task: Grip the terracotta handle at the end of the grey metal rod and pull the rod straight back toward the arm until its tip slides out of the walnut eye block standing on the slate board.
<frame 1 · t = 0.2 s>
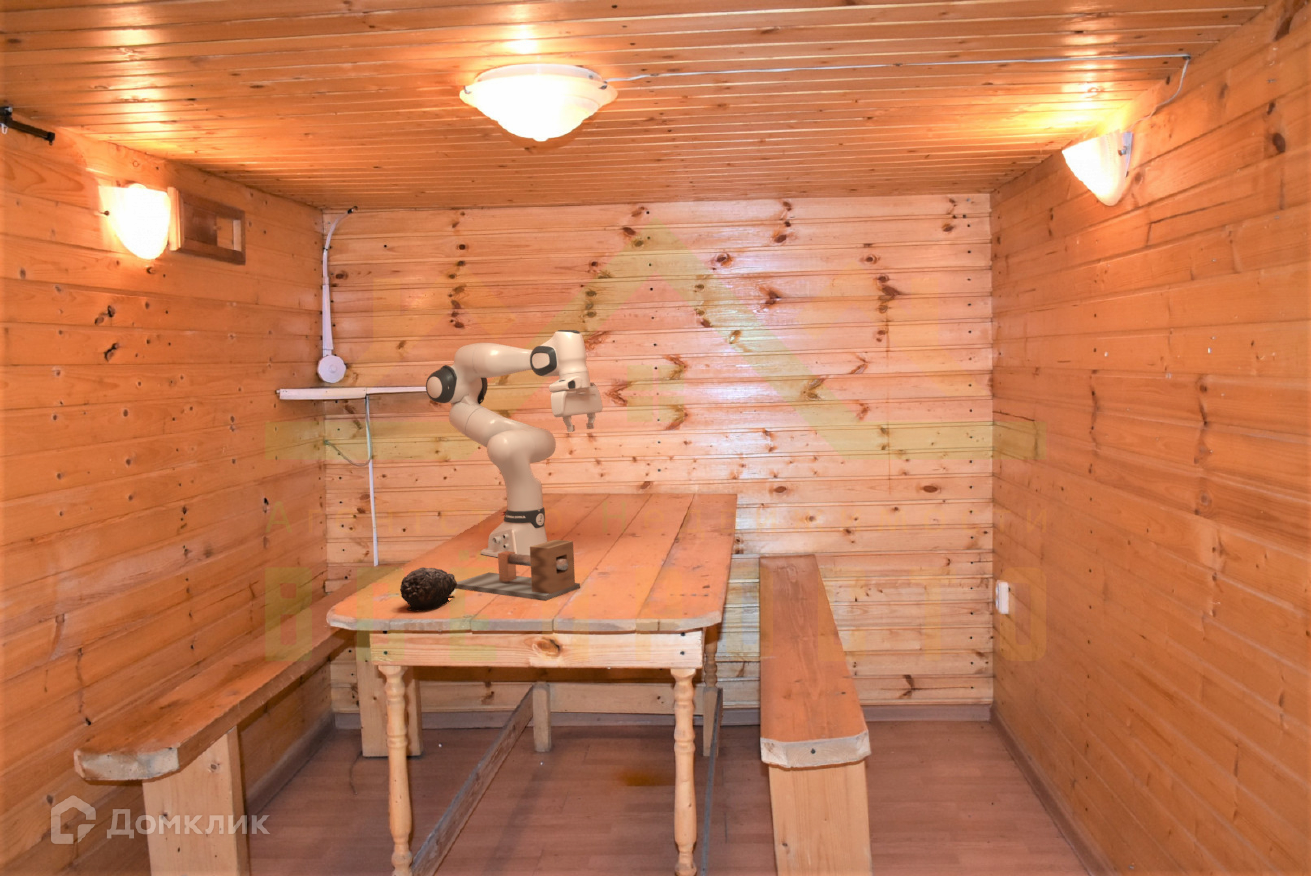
hand: (581, 430, 274), 39 cm above the table, tool pointing down, fingers open, 8 cm apart
pine cone: (429, 605, 232), on the table
eye post: (515, 587, 245), on the table
hook rod: (533, 569, 241), point 6 cm above the table, slide at 0.0 cm
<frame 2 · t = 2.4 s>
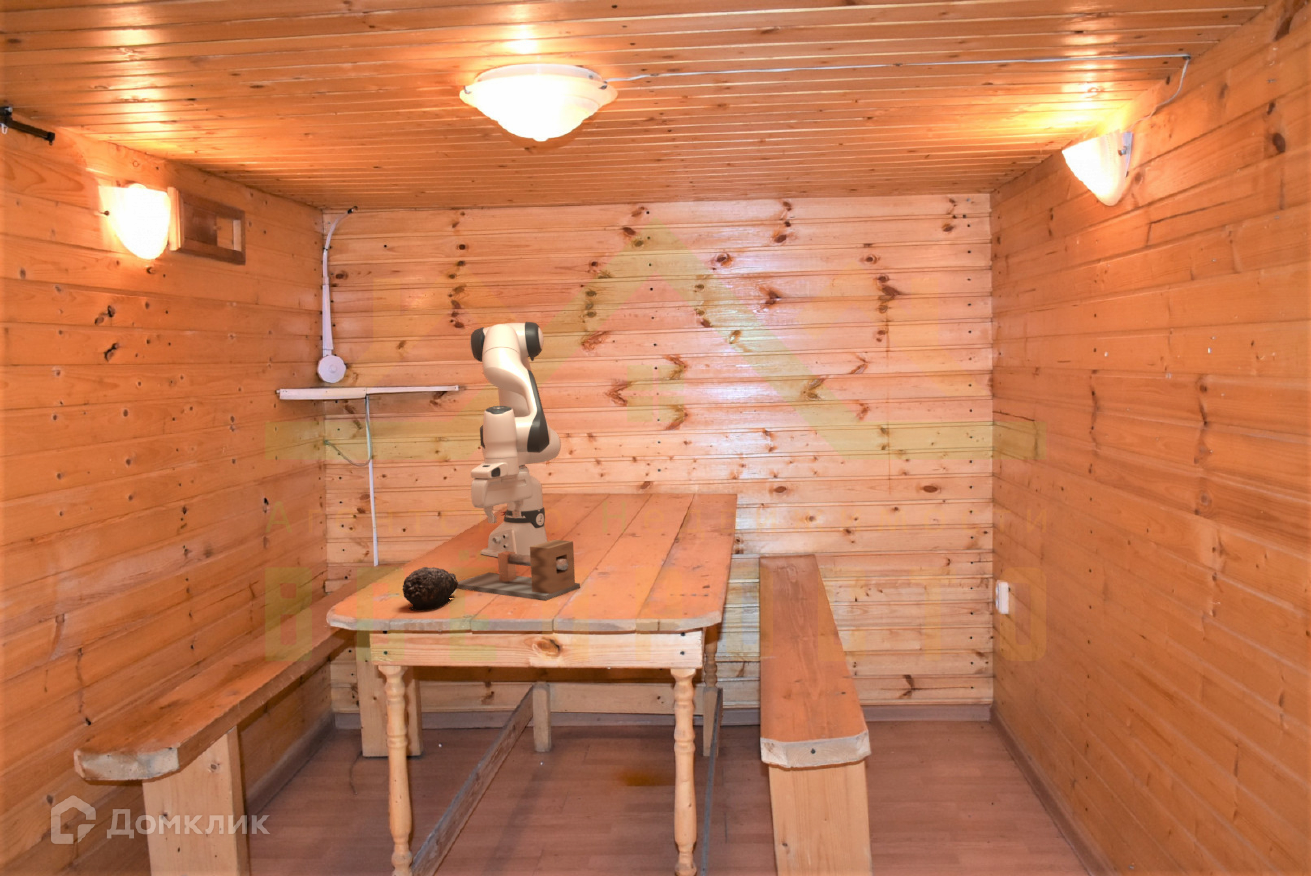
hand: (504, 520, 245), 18 cm above the table, tool pointing down, fingers open, 8 cm apart
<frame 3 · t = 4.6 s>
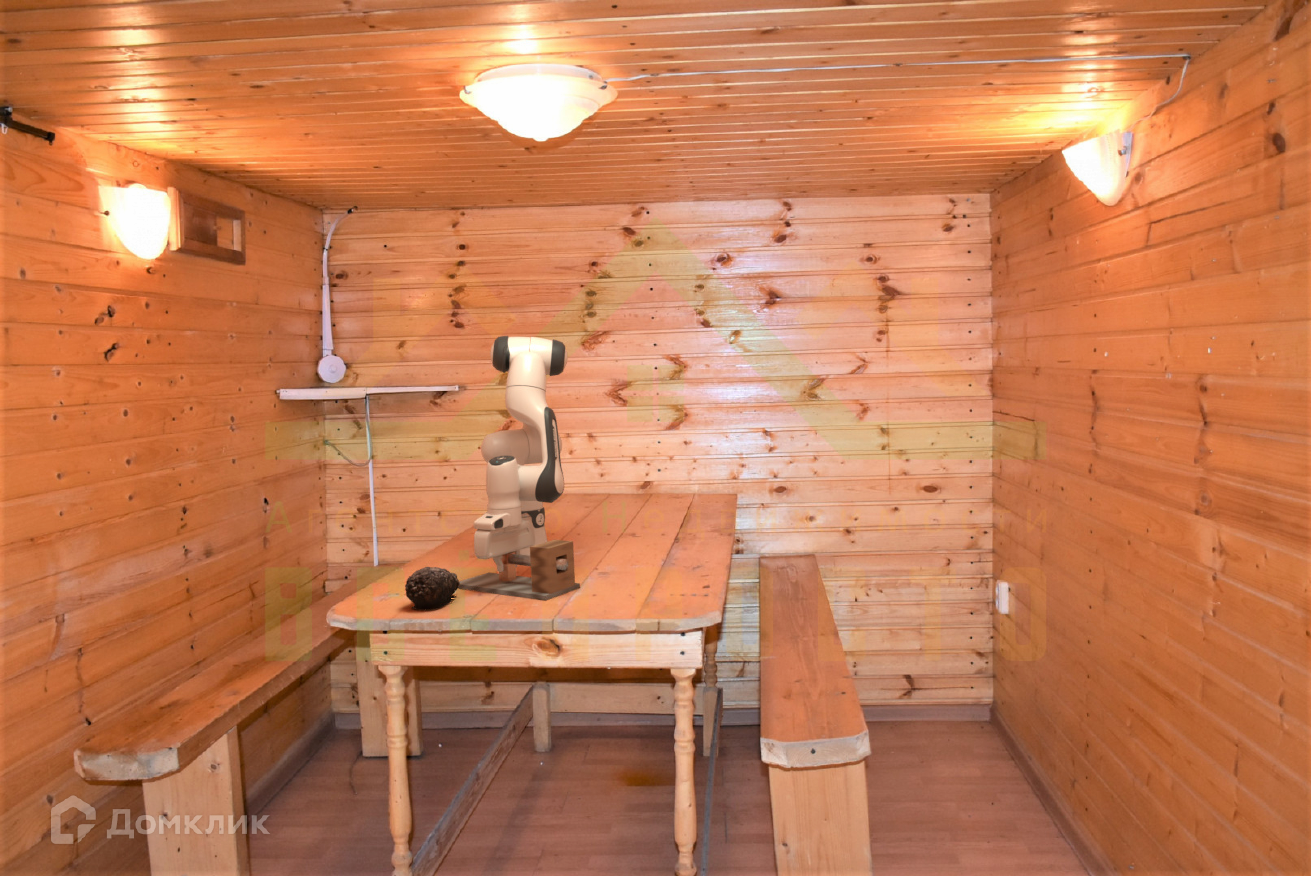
hand: (507, 569, 246), 5 cm above the table, tool pointing down, fingers closed on hook rod, 3 cm apart
hook rod: (533, 569, 241), point 6 cm above the table, slide at 0.0 cm, touching gripper
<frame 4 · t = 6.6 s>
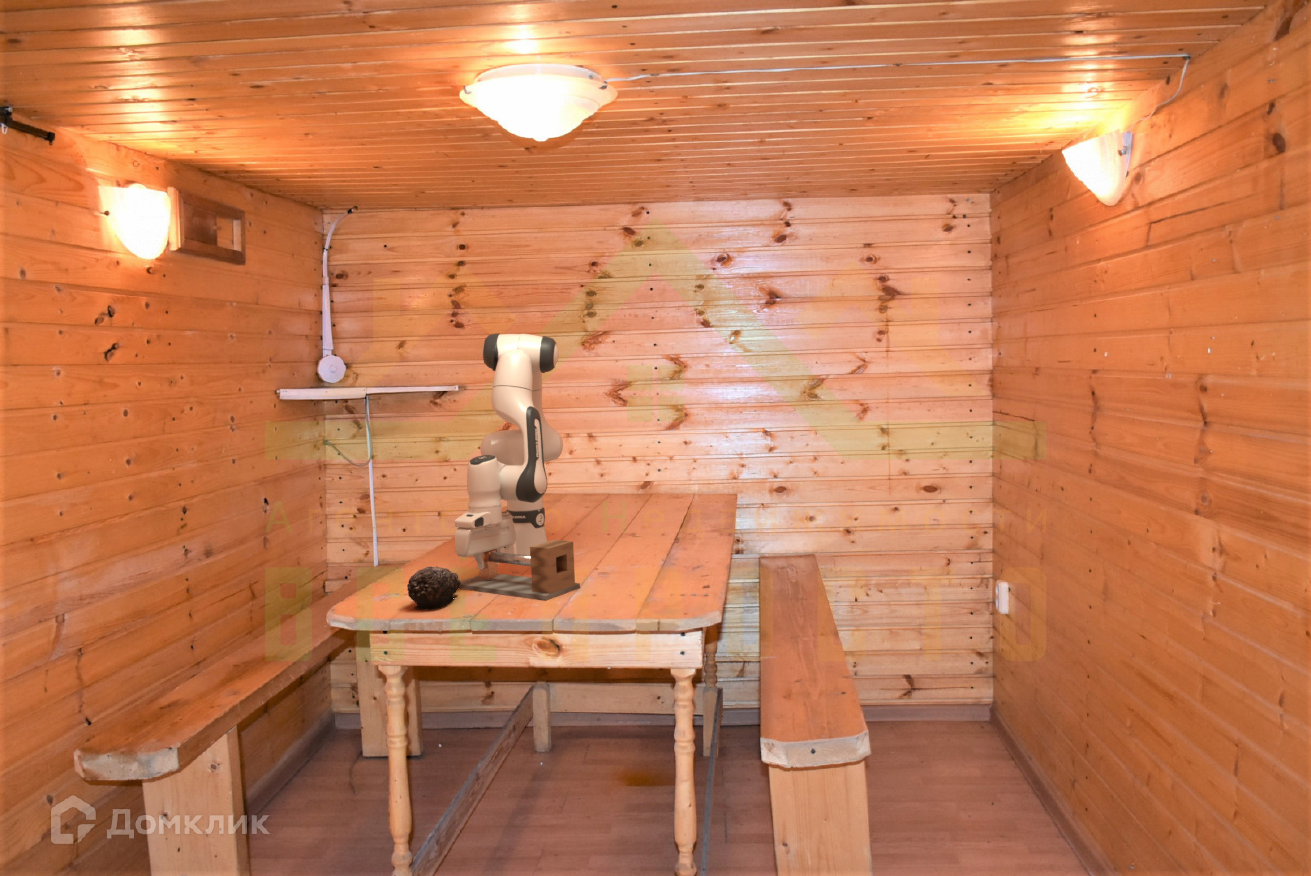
hand: (488, 567, 250), 5 cm above the table, tool pointing down, fingers closed on hook rod, 3 cm apart
hook rod: (513, 566, 245), point 6 cm above the table, slide at 6.9 cm, touching gripper
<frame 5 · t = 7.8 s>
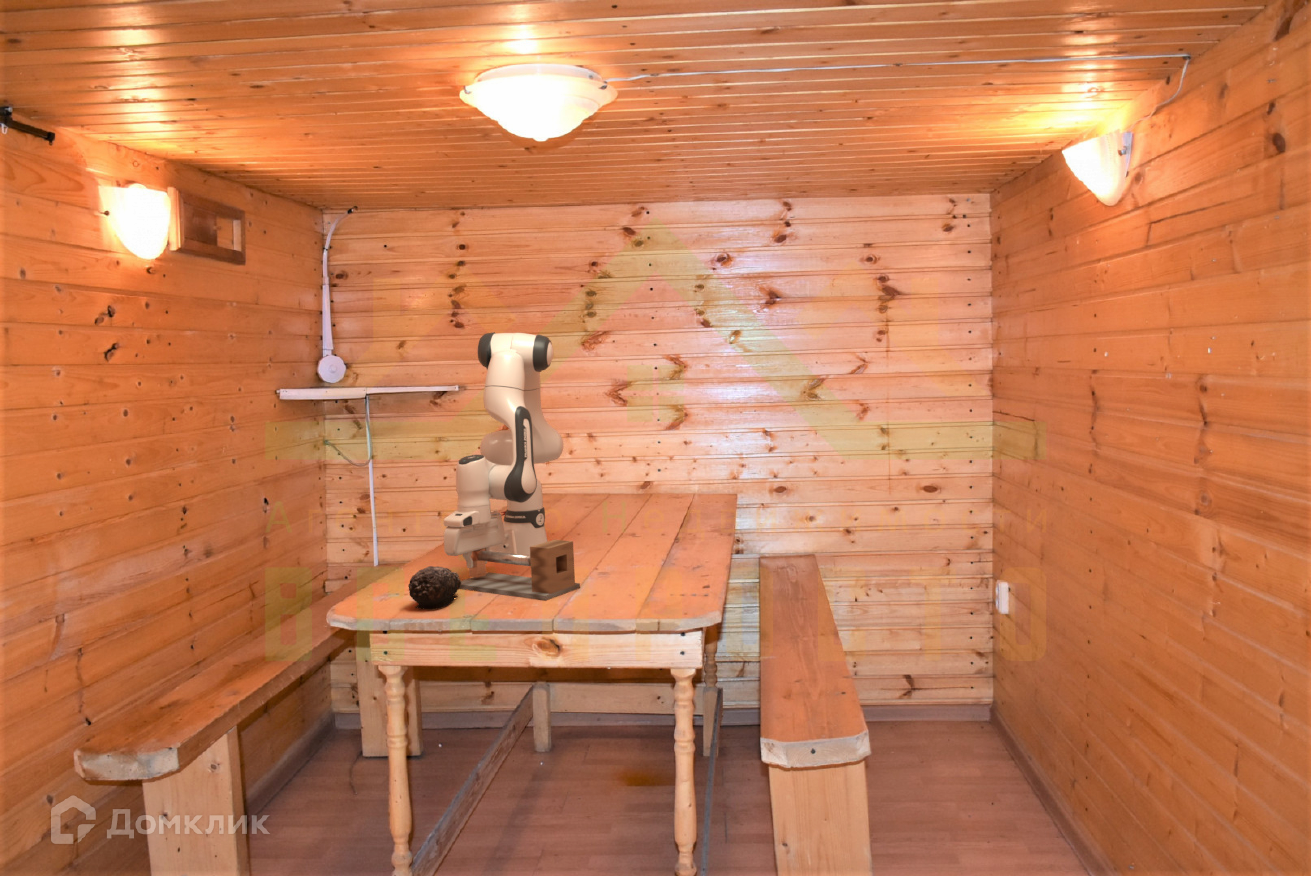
hand: (477, 565, 252), 5 cm above the table, tool pointing down, fingers closed on hook rod, 3 cm apart
hook rod: (501, 565, 247), point 6 cm above the table, slide at 10.9 cm, touching gripper
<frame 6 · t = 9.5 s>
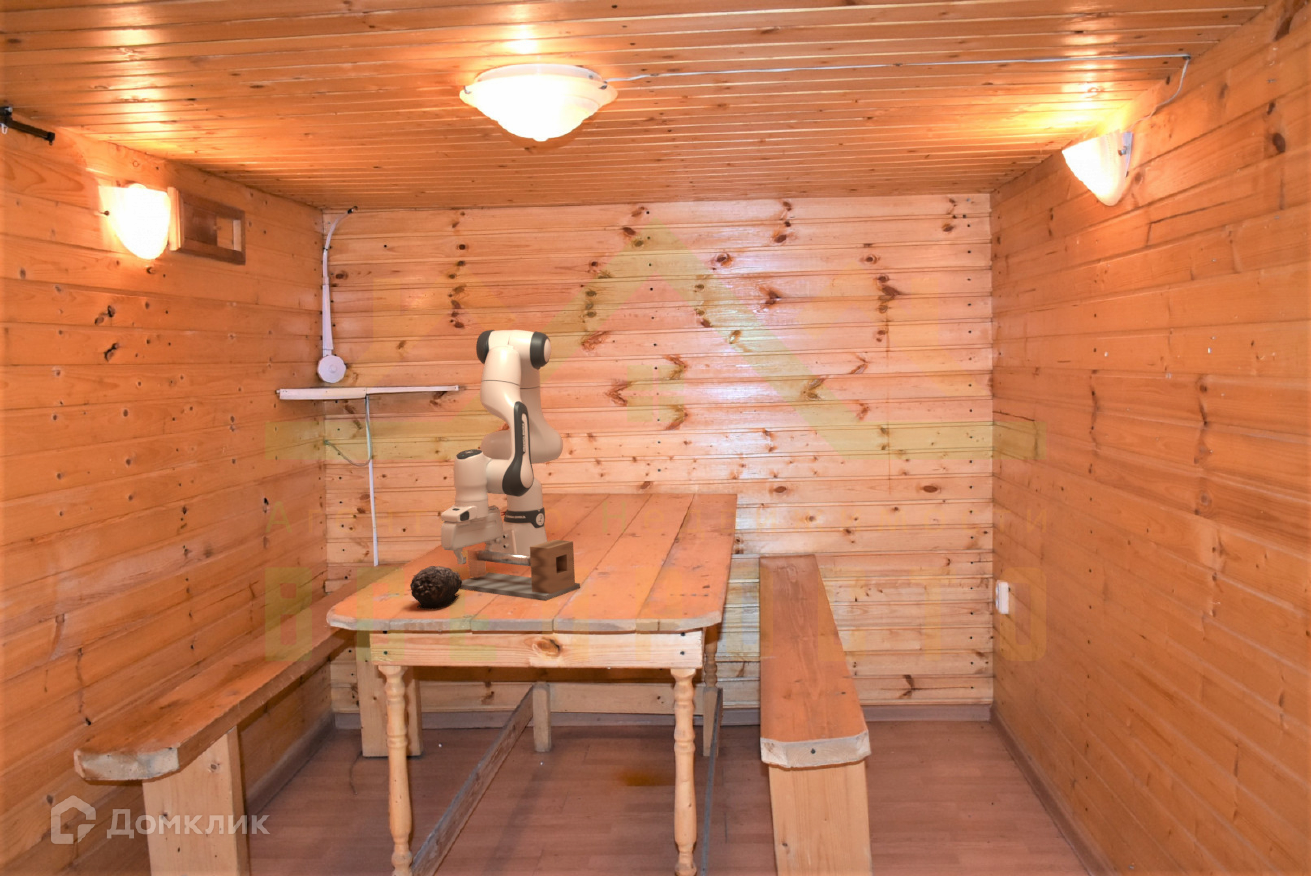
hand: (474, 560, 253), 6 cm above the table, tool pointing down, fingers open, 8 cm apart
hook rod: (501, 565, 247), point 6 cm above the table, slide at 11.0 cm
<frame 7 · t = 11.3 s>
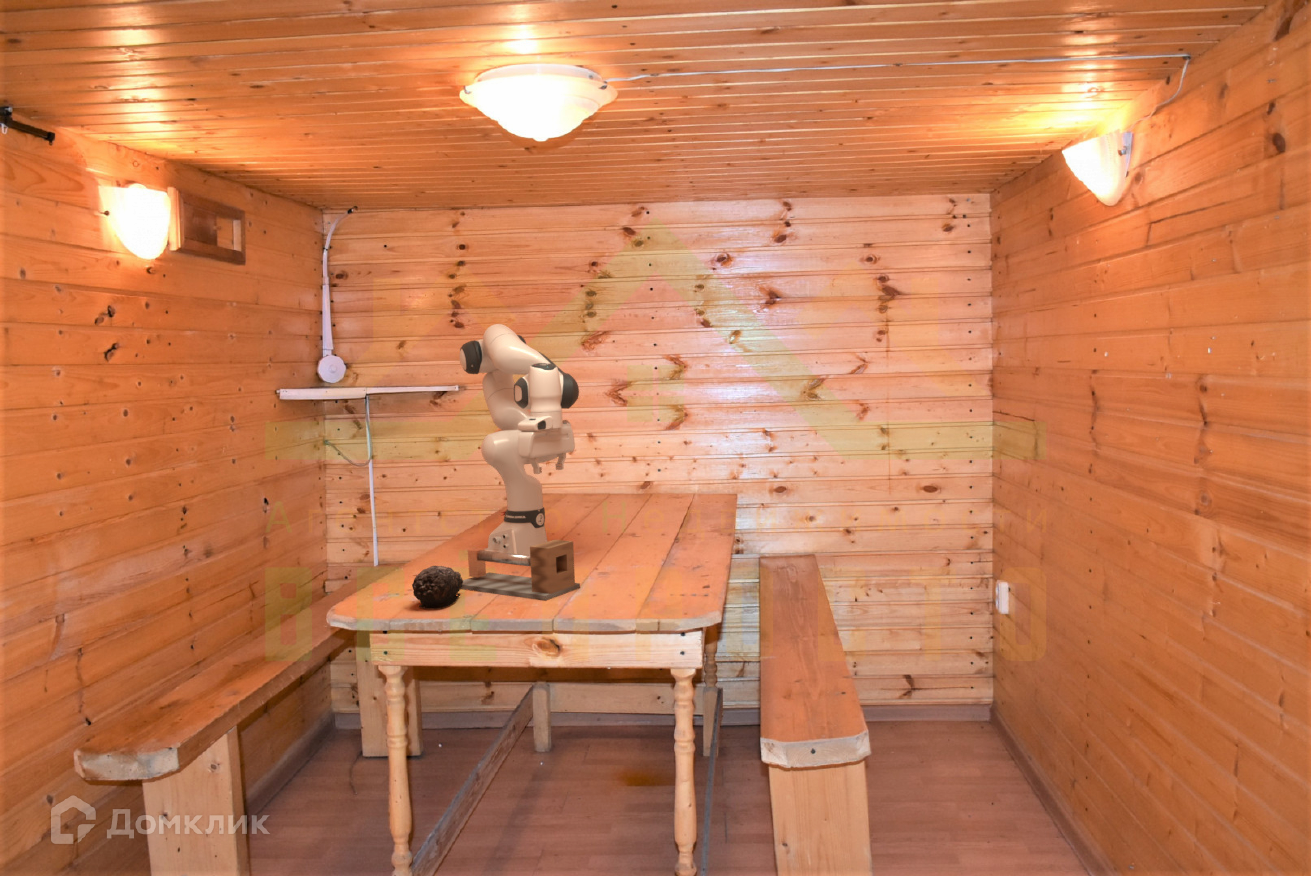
hand: (548, 471, 258), 29 cm above the table, tool pointing down, fingers open, 8 cm apart
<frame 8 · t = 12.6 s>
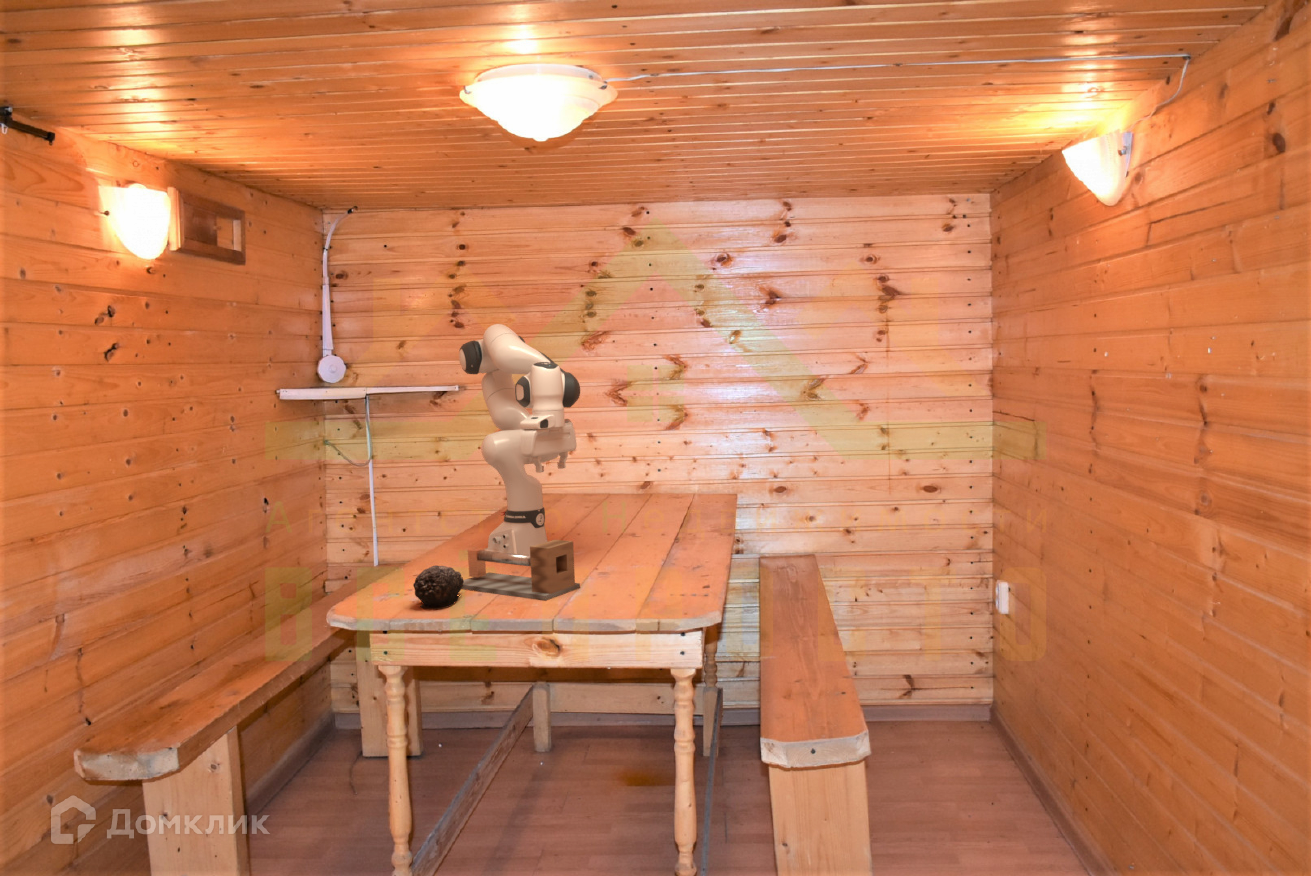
hand: (550, 470, 259), 29 cm above the table, tool pointing down, fingers open, 8 cm apart
at the end: hook rod slide at 11.0 cm; the gripper is holding nothing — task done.
